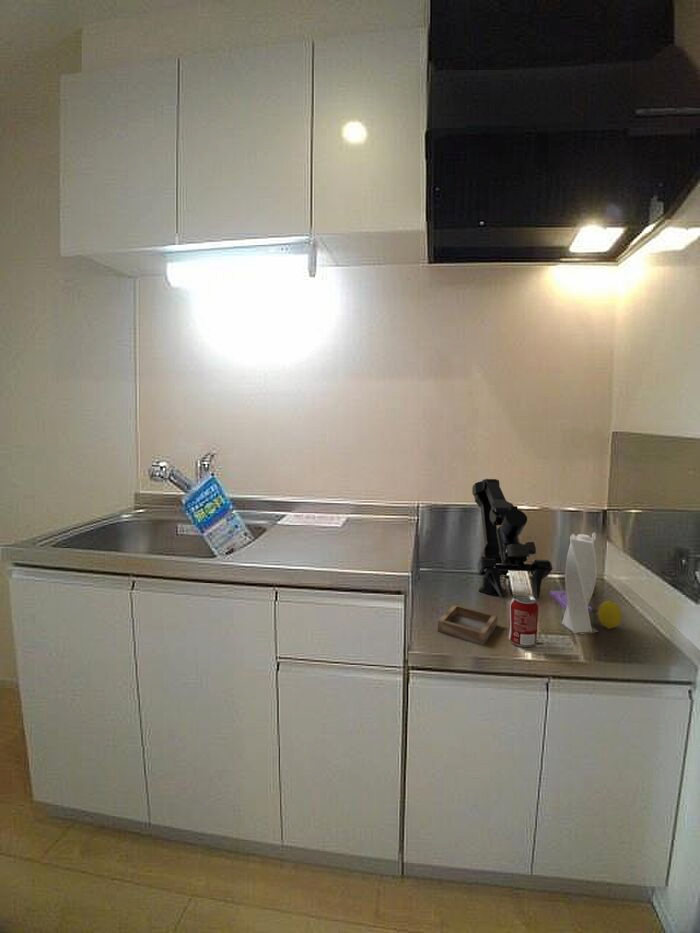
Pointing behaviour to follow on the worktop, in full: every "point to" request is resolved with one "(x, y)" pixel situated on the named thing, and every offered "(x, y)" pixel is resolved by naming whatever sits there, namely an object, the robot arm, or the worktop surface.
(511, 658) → the worktop surface
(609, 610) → the lemon
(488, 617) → the wooden square tray
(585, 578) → the skyscraper
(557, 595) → the sponges
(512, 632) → the soda can
